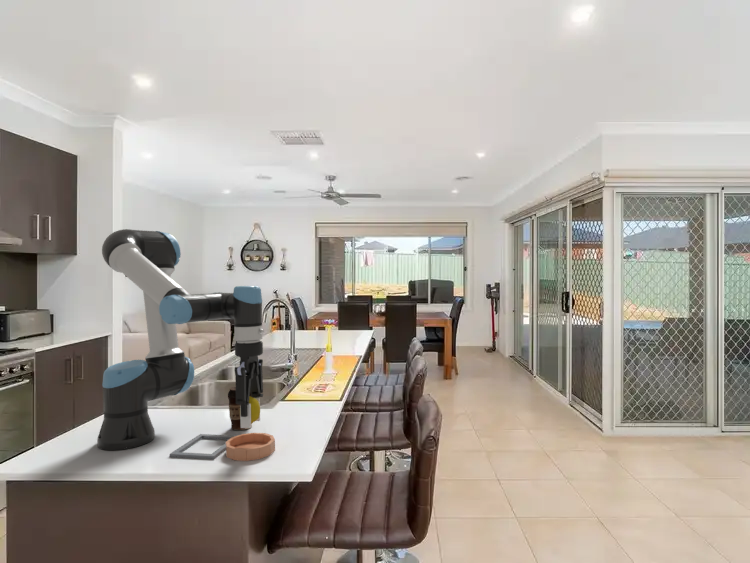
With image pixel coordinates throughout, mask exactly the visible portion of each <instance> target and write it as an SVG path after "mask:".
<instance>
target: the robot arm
mask: <svg viewBox="0 0 750 563" xmlns="http://www.w3.org/2000/svg"><path fill="white" fill-rule="evenodd" d="M101 247H102V248H101V254H102V259H103V260H104V262H105V263H106V265H107V266H109V267H110V268H111V270H113V271H114V272H116V273H120V274H121V273H122V274H123V275H125V277H127V278H128V279H129V280H130V281H131V282H132V283H133V284H134V285H136V286H137V287H138V288H139V289H140V290H141V291H142V292H143V301H144V310H145V311H144V312H145V320H146V328H147V329H146V330H147V337H148V347H149V351H148V354H146V355H145V359H133V360H126V361H122V362H118V363H115V364H112V365H110V366H108V367H106V369H105V370H104V371H103V376H102V383H101V384H102V391H103V392H102V393H103V394H102V396H103V397H102V400H103V420H102V423H101V426H100V429H99V432H98V433H99V434H98V435H97V439H96V440H97V442H96V443H97V448H99V449H100V450H102V451H103V450H105V451H120V450H121V451H122V450H128V449H133V448H137V447H141V446H143V445H146V444H148V443H150V442H152V441H153V440H154V439H155V435H156V434H155V433H156V432H155V428H154V426H153V422H152V421H151V417H150V415H149V407H148V405H149V403H148V402H151V401H154V400H155V401H156V400H159V399H163V398H166V397H171V396H172V397H173V396H177V395H179V394H181V393H184V392H186V391H187V390H189V389H190V387H191V386H192V384H193V382H194V378H195V366H194V363H193V362H192V360H191V359H190V358H189V357H187V356H186V354H185V351H184V350H183V349H181V348H180V346H179V342H178V341H179V338H178V332H177V325H184V324H188V323H189V324H190V323H196V322H207V321H208V322H209V321H216V320H233V322H234V324H233V325H234V341H236V342H235V343H234V355H235V357H237V358H238V357H239V358H240V360H239V366H238V367H237V366H235V367H234V374H235V375H234V376H235V387H236V404H238V405H240V423H241V428H249V429H251V428H252V427H251V425H252V424H251V404H249V396H250V391H251V397H253V398H255V399H256V400H257V401H258V402H259V405H260V406H261V402H260V401H261V400H260V399H261V398H263V396H264V384H263V383H264V382H263V380H264V379H263V364H264V362H263V361H264V360H263V358H259V356H262V355H263V353H264V343H263V341H262V339H263V333H264V331H265V330H264V329H263V297H262V288H261V287H260V286H259V285H240V286H239V285H237V286H235V287H234V288H233V292H220V291H219V292H212V293H193V294H192V293H190V292H189V291H188V290H186V289H185V288H184V287H182V286H181V285H180V284H179V283H177V282H176V281H175V280H174V279H173V278H172V277H171V276H172V274H173V273H174V272H175V266H177V265H178V264H179V263H180V258H181V254H182V253H181V247H180V243H179V241H178V240H177V238H175V236H173V235H172V234H170V233H169V232H162V231H158V230H155V231H154V230H143V229H142V230H139V229H130V228H129V229H127V228H126V229H118V230H115V231H113V232H112V233H110V234H109V235H108V236H107V237H106V238H105V240H104V242H103V244H102V246H101ZM260 421H261V414H260V415H259V418H258V419H257V420H256V421H255V422H260Z"/></svg>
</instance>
